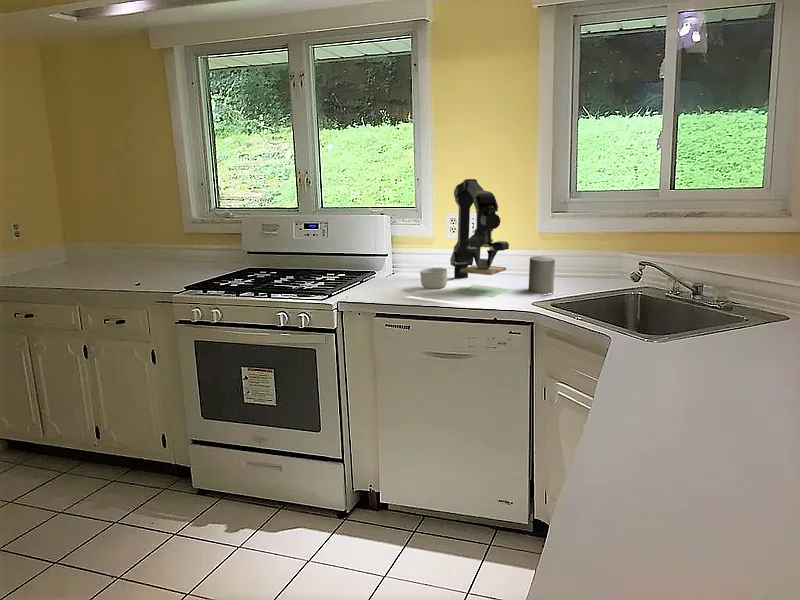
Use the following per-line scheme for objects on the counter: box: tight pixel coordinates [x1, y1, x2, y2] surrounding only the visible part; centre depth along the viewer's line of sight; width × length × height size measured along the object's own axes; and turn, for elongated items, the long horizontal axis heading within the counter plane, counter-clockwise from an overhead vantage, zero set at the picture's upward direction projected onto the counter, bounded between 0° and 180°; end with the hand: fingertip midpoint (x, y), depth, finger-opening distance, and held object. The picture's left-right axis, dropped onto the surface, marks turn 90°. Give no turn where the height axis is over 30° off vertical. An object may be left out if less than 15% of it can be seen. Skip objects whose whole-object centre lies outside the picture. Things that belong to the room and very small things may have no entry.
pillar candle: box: [527, 254, 556, 294], centre depth 265 cm, size 10×10×15 cm
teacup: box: [419, 266, 448, 290], centre depth 277 cm, size 14×11×8 cm
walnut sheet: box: [460, 258, 507, 276], centre depth 265 cm, size 13×13×4 cm
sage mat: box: [454, 284, 513, 298], centre depth 268 cm, size 17×17×1 cm
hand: (483, 266), depth 265 cm, fingers closed on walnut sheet, 4 cm apart
